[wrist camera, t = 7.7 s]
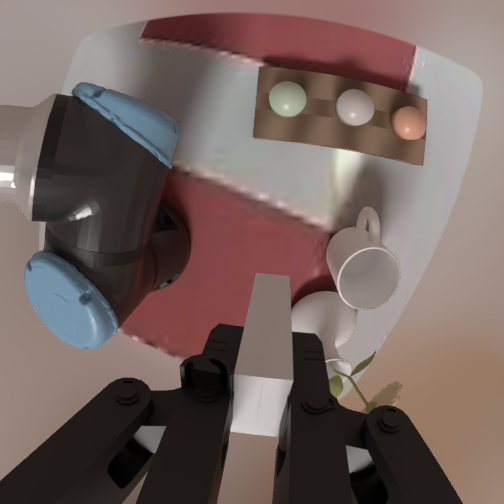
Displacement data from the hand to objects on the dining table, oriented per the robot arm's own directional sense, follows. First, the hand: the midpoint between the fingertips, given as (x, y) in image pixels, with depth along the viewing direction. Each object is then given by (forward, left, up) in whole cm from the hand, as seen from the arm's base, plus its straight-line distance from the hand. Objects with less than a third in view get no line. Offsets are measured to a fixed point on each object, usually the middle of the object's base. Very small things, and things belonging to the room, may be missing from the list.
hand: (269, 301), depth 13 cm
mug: (+12, -4, -29) cm, 31 cm away
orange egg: (+16, +14, -26) cm, 34 cm away
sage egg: (0, +14, -26) cm, 30 cm away
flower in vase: (+10, -17, -29) cm, 35 cm away
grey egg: (+8, +14, -25) cm, 30 cm away
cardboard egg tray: (+8, +14, -28) cm, 33 cm away
